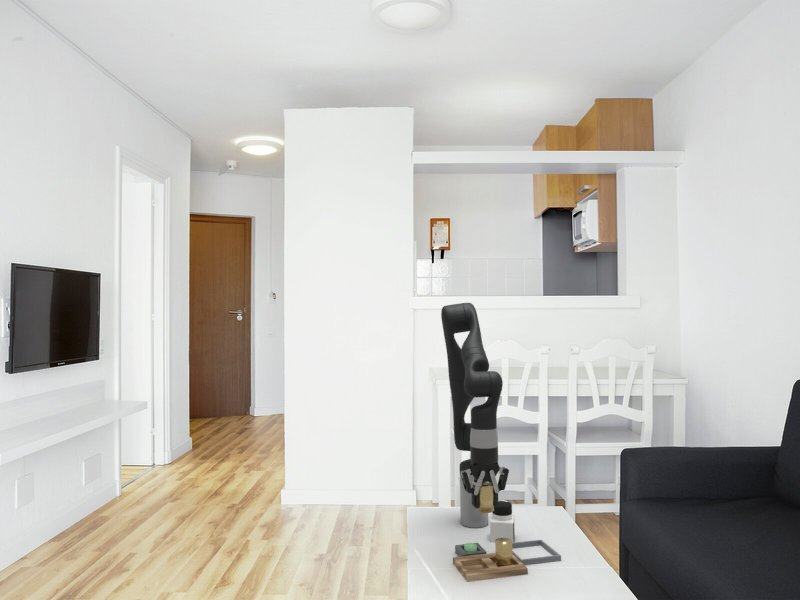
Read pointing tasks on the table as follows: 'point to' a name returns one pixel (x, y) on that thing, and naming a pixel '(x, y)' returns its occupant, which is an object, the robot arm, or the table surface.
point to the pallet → (487, 567)
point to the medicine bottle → (502, 522)
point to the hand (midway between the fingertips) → (485, 506)
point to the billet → (486, 498)
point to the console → (460, 552)
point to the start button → (470, 547)
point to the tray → (537, 560)
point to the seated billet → (503, 552)
